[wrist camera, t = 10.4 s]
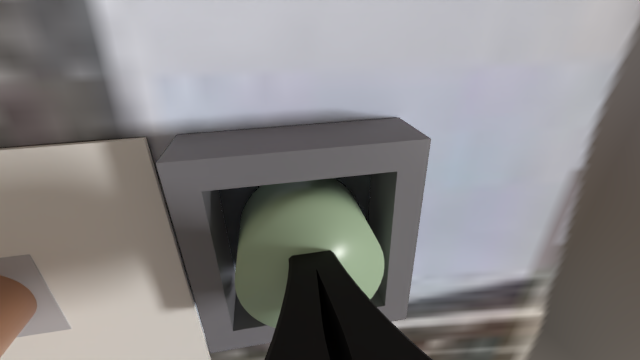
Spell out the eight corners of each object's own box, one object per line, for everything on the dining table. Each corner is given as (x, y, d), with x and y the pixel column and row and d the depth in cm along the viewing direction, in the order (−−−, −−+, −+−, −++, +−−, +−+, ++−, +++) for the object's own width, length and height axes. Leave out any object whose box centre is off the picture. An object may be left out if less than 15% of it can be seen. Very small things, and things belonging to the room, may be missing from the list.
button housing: (384, 276, 15) (406, 319, 13) (217, 302, 14) (210, 353, 12) (398, 117, 12) (430, 138, 10) (176, 134, 11) (155, 163, 8)
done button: (357, 263, 14) (380, 318, 11) (248, 278, 13) (245, 341, 11) (360, 165, 12) (389, 205, 9) (231, 178, 11) (222, 225, 9)
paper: (218, 385, 17) (217, 389, 17) (-37, 432, 15) (-41, 438, 15) (145, 137, 11) (143, 139, 10) (-305, 172, 9) (-319, 175, 9)
